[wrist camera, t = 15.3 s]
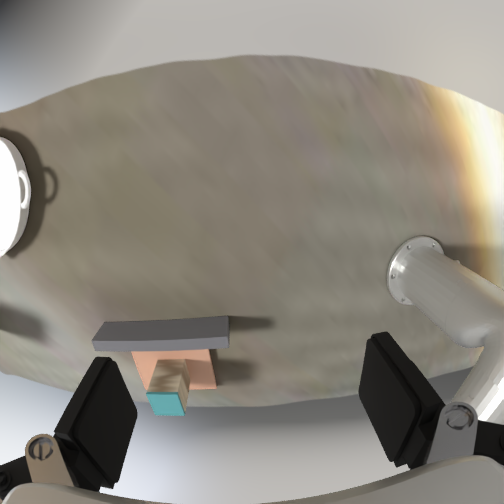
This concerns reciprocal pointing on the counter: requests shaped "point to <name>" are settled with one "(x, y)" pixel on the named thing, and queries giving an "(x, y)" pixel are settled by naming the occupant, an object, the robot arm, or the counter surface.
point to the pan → (12, 195)
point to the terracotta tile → (195, 361)
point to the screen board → (164, 335)
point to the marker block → (169, 387)
